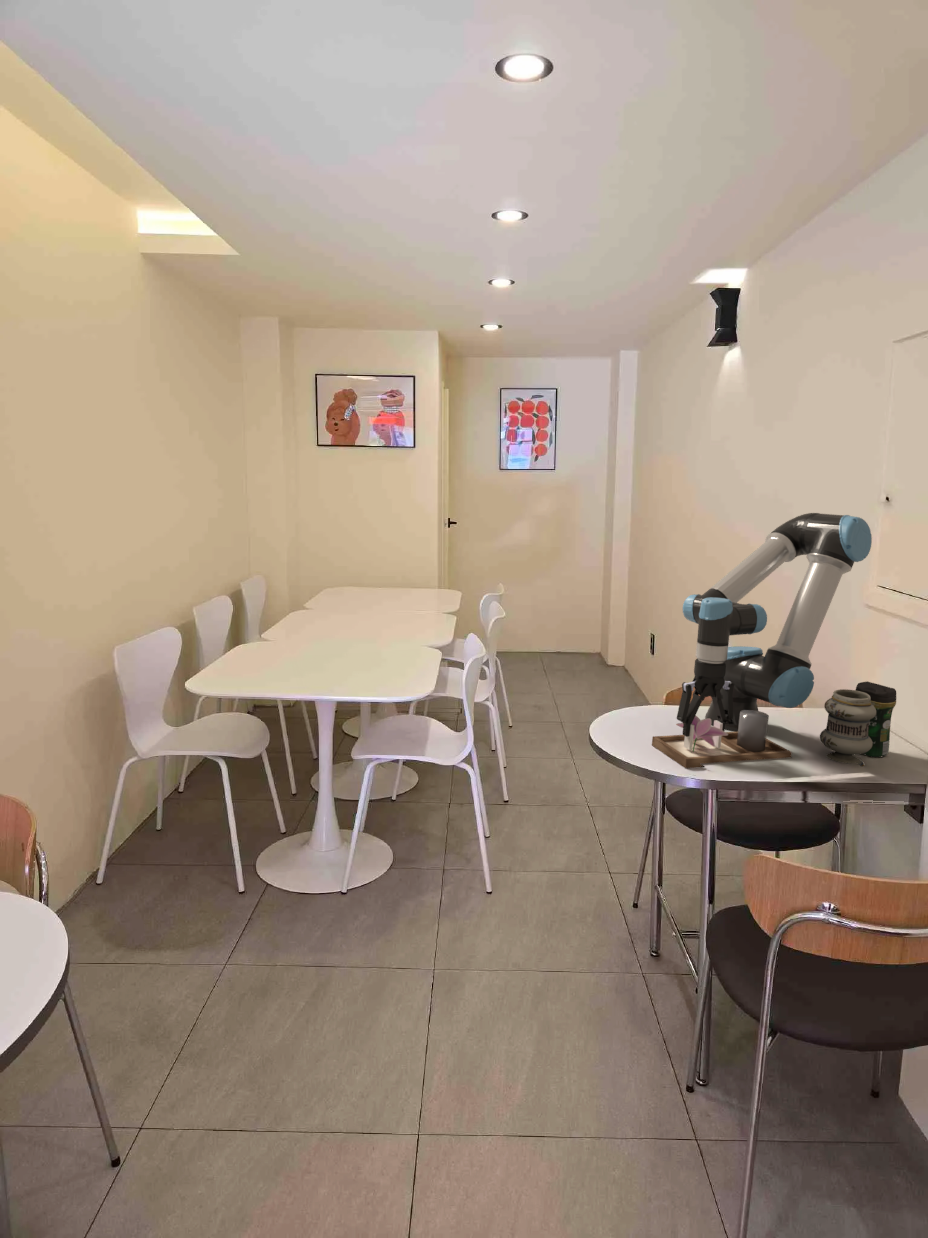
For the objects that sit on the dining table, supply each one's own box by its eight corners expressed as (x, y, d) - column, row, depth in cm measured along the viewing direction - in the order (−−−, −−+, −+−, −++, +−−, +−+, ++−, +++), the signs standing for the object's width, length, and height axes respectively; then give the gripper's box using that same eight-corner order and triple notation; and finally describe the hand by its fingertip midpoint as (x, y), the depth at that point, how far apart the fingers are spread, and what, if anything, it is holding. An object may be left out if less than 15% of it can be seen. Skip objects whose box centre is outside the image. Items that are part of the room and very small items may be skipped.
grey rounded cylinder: (753, 742, 211) (757, 709, 210) (770, 751, 205) (774, 717, 203) (730, 743, 210) (734, 710, 208) (747, 752, 203) (750, 718, 201)
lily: (730, 759, 198) (735, 722, 201) (697, 746, 193) (703, 708, 196) (694, 759, 209) (700, 723, 211) (661, 746, 204) (668, 710, 206)
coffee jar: (841, 748, 212) (850, 681, 209) (858, 744, 217) (867, 678, 213) (876, 760, 204) (886, 690, 201) (893, 755, 209) (903, 687, 205)
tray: (750, 739, 217) (751, 730, 216) (790, 761, 201) (791, 751, 201) (651, 745, 209) (652, 736, 208) (685, 768, 193) (686, 759, 193)
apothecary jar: (818, 765, 199) (827, 696, 195) (815, 750, 210) (824, 684, 207) (872, 773, 195) (882, 702, 191) (866, 757, 206) (875, 690, 203)
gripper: (737, 655, 205) (728, 740, 209) (666, 657, 200) (658, 744, 204) (755, 662, 198) (745, 750, 202) (682, 664, 192) (674, 754, 197)
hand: (702, 747), depth 203 cm, fingers closed on lily, 7 cm apart
